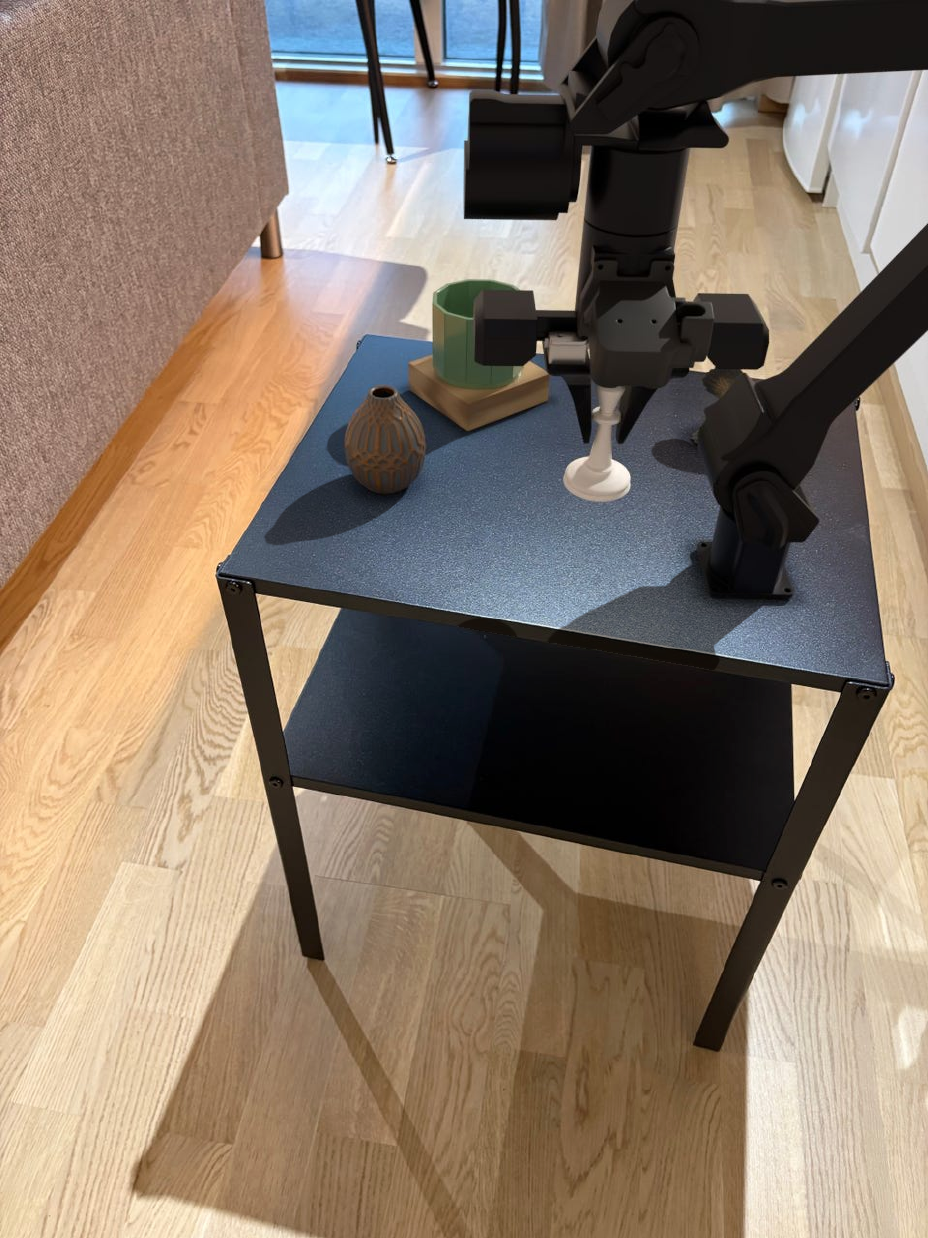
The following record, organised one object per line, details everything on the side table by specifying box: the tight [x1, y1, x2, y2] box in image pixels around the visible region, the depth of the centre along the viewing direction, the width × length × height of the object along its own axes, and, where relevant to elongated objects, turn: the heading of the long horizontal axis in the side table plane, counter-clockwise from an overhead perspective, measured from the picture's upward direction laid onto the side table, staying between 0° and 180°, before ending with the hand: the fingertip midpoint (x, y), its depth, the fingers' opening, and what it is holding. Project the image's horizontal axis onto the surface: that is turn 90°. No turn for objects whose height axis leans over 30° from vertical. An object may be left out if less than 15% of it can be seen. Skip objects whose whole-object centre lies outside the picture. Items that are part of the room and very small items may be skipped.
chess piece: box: [562, 384, 632, 503], centre depth 70 cm, size 5×5×10 cm
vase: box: [344, 384, 427, 495], centre depth 85 cm, size 7×7×9 cm
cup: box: [431, 278, 524, 389], centre depth 95 cm, size 9×9×7 cm
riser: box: [407, 354, 551, 432], centre depth 99 cm, size 10×10×3 cm
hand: (602, 441), depth 71 cm, fingers closed on chess piece
